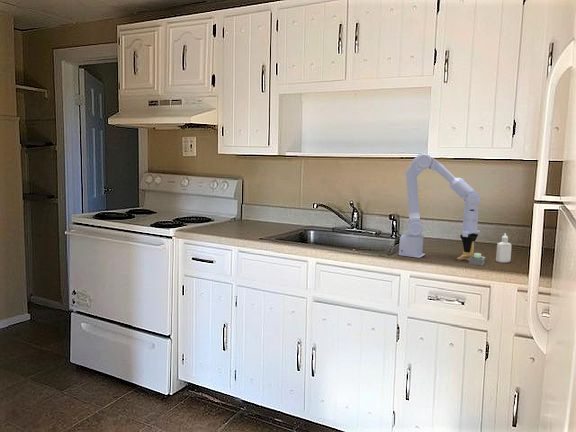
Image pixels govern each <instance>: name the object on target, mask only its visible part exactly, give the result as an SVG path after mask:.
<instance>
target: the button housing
mask: <svg viewBox="0 0 576 432" xmlns="http://www.w3.org/2000/svg"><path fill="white" fill-rule="evenodd" d="M484 257H485V256H482V257H481V259H475V258H474V256H472V257H470V258H469V261H468V265H474V266H484V265H485V264H486V259H485V258H484Z"/></svg>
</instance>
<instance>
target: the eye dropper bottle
mask: <svg viewBox="0 0 576 432" xmlns="http://www.w3.org/2000/svg"><path fill="white" fill-rule="evenodd" d="M495 254H496V255H495V261H496V262H497V263H500V264H501V263H503V264H504V263H505V264H506V263H510V262H511V258H512V257H511V256H512V243H510V242H509V236H508V235H507V233H505V232H504V234H503V235H502V236H501V241H500V242H497V245H496V253H495Z"/></svg>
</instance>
